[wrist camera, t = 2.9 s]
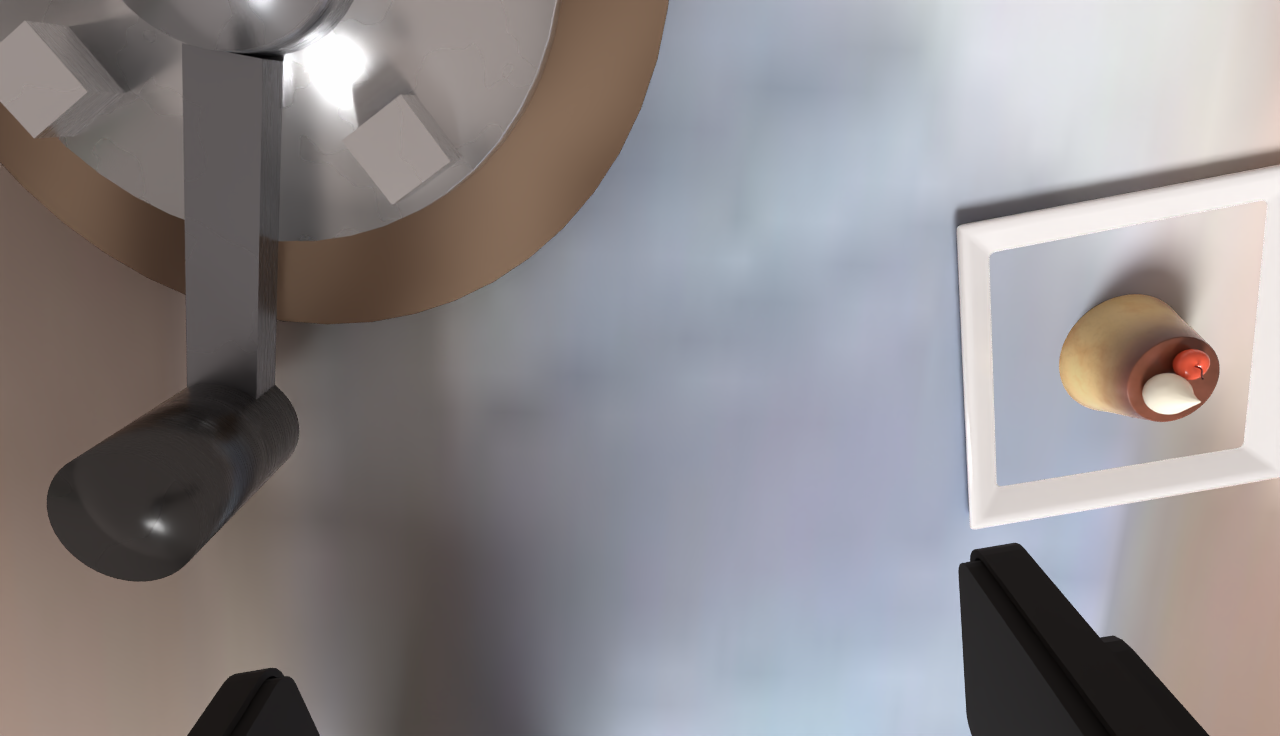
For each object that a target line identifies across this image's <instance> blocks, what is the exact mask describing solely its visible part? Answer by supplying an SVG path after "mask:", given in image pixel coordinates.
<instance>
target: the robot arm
mask: <svg viewBox="0 0 1280 736" xmlns="http://www.w3.org/2000/svg"><path fill="white" fill-rule="evenodd" d="M959 589H960V607H961V624H962V642H963V660H964V678H965V696H966V713H967V720H968V724H969V728H970V731H971V734H972V736H1209V735H1208V734H1207V732H1206V731H1205V730H1204V729H1203V728H1202V727H1201V726H1200V725H1199V723H1198V722H1197V721H1196V720H1195V719H1194V718H1193V717H1192V716H1191V714H1190V713H1189V712H1188V711H1187V710H1186V709H1185V708H1184V707H1183V705H1182V704H1181V703H1180V702H1179V701H1178V700H1177V699H1176V698H1175V696H1174V695H1173V694H1172V693H1171V692H1170V691H1169V690H1168V689H1167V687H1166V686H1165V685H1164V684H1163V683H1162V682H1161V681H1160V680H1159V678H1158V677H1157V676H1156V675H1155V674H1154V673H1153V672H1152V671H1151V669H1150V668H1149V667H1148V666H1147V665H1146V664H1145V663H1144V661H1143V660H1142V659H1141V658H1140V657H1139V656H1138V655H1137V654H1136V652H1135V651H1134V650H1133V649H1132V648H1131V647H1130V646H1129V645H1127V644H1126V643H1125V642H1124V641H1123V640H1122V639H1120V638H1117V637H1115V636H1108V637H1101V638H1100V637H1099V636H1098V635H1097V634H1096V633H1095V631H1094V630H1093V629H1092V628H1091V627H1090V626H1089V624H1088V623H1087V622H1086V621H1085V620H1084V618H1083V617H1082V616H1081V615H1080V614H1079V613H1078V611H1077V610H1076V609H1075V608H1074V607H1073V605H1072V604H1071V603H1070V602H1069V601H1068V600H1067V598H1066V597H1065V596H1064V595H1063V594H1062V593H1061V591H1060V590H1059V589H1058V588H1057V587H1056V585H1055V584H1054V583H1053V582H1052V581H1051V580H1050V578H1049V577H1048V576H1047V575H1046V574H1045V572H1044V571H1043V570H1042V569H1041V568H1040V567H1039V565H1038V564H1037V563H1036V562H1035V561H1034V559H1033V558H1032V557H1031V556H1030V555H1029V554H1028V552H1027V551H1026V550H1025V549H1024V548H1023V547H1022V546H1021V545H1020V544H1018V543H1011V544H1005V545H999V546H993V547H987V548H981V549H975V550H973V551H972V553H971V556H970V562H966V563H961V564H960V565H959ZM187 736H320V735H319V733H318V731H317V728H316V726H315V724H314V722H313V720H312V718H311V715H310V713H309V711H308V709H307V707H306V705H305V703H304V700H303V698H302V696H301V694H300V692H299V690H298V687H297V685H296V683H295V682H294V680H293V679H292V678H290V677H287V676H285V677H284V675H283V674H282V672H281V671H279V670H278V669H277V668H268V669H262V670H256V671H250V672H244V673H238V674H234V675H232V676H230V677H229V678H228V679H227V680H226V681H225V682H224V683H223V685H222V686H221V688H220V689H219V691H218V692H217V693H216V695H215V696H214V698H213V699H212V701H211V702H210V704H209V705H208V706H207V708H206V709H205V711H204V712H203V714H202V715H201V717H200V718H199V719H198V721H197V722H196V724H195V725H194V727H193V728H192V730H191V731H190V732H189V734H188V735H187Z"/></svg>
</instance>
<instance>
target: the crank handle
mask: <svg viewBox="0 0 1280 736" xmlns="http://www.w3.org/2000/svg"><path fill="white" fill-rule="evenodd" d="M561 2H562V0H0V102H1V103H2V104H3V105H4V106H5V107H6V108H7V109H8V111H9V112H10V113H11V114H12V115H13V116H14V117H15V118H16V119H17V120H18V121H19V122H20V124H21V125H22V126H23V127H24V128H25V129H26V130H27V131H28V132H29V133H30V134H31V136H32V137H33V138H51V137H57V138H58V139H59V140H60V141H61V142H62V143H63V144H64V145H65V146H66V147H67V148H68V149H70V150H71V151H72V152H73V153H75V154H76V155H77V156H78V157H79V158H81V159H82V160H83V161H84V162H86V163H87V164H88V165H89V166H91V167H92V168H93V169H94V170H96V171H97V172H98V173H99V174H101V175H102V176H104V177H105V178H107V179H108V180H110V181H112V182H113V183H115V184H116V185H118V186H119V187H121V188H122V189H124V190H125V191H127V192H128V193H130V194H132V195H133V196H135V197H137V198H139V199H141V200H143V201H145V202H147V203H149V204H151V205H153V206H155V207H157V208H158V209H160V210H162V211H164V212H166V213H168V214H170V215H173V216H176V217H178V218H181V219H184V220H185V278H186V343H187V388H185V389H184V390H182V391H181V392H179V393H177V394H176V395H174V396H173V397H171V398H170V399H168V400H166V401H165V402H163V403H162V404H160V405H159V406H157V407H156V408H154V409H152V410H151V411H149V412H148V413H146V414H145V415H143V416H141V417H140V418H138V419H137V420H135V421H134V422H132V423H130V424H129V425H127V426H126V427H124V428H123V429H121V430H119V431H118V432H116V433H115V434H113V435H112V436H110V437H108V438H107V439H105V440H104V441H102V442H101V443H99V444H97V445H96V446H94V447H93V448H91V449H90V450H88V451H86V452H85V453H83V454H82V455H80V456H79V457H77V458H75V459H74V460H72V461H71V462H69V463H68V464H66V465H65V466H64V467H63V468H61V469H60V470H59V472H58V473H57V474H56V475H55V477H54V478H53V480H52V482H51V484H50V487H49V490H48V495H47V511H48V517H49V520H50V523H51V525H52V528H53V530H54V532H55V534H56V535H57V537H58V538H59V540H60V541H61V543H62V544H63V545H64V546H65V548H66V549H67V550H68V551H69V552H70V553H71V554H72V555H73V556H75V557H76V558H77V559H78V560H79V561H81V562H82V563H84V564H85V565H87V566H88V567H90V568H92V569H94V570H96V571H97V572H100V573H102V574H105V575H107V576H110V577H113V578H117V579H122V580H127V581H152V580H157V579H161V578H164V577H167V576H169V575H172V574H173V573H175V572H177V571H178V570H180V569H181V568H182V567H184V566H185V565H186V564H187V563H188V562H189V561H190V560H191V559H192V557H193V556H194V555H195V554H196V553H197V552H198V551H199V550H200V549H201V548H202V547H203V546H204V545H205V544H206V543H207V542H208V541H209V540H210V539H211V538H212V537H213V536H214V535H215V534H216V533H217V532H218V531H219V530H220V529H221V528H222V526H223V525H224V524H225V523H226V522H227V521H228V520H229V519H230V518H231V517H232V516H233V515H234V514H235V513H236V512H237V511H238V510H239V509H240V508H241V507H242V506H243V505H244V504H245V503H246V502H247V501H248V500H249V499H250V498H251V497H252V495H253V494H254V493H255V492H256V491H257V490H258V489H259V488H260V487H261V486H262V485H263V484H264V483H265V482H266V481H267V480H268V479H269V478H270V477H271V476H272V475H273V474H274V473H275V472H276V471H277V470H278V469H279V468H280V467H281V466H282V465H283V463H284V462H285V461H286V460H287V459H288V458H289V457H290V456H291V454H292V453H293V451H294V450H295V447H296V445H297V442H298V437H299V424H298V418H297V415H296V412H295V410H294V408H293V406H292V404H291V402H290V401H289V399H288V398H287V397H286V396H285V394H284V393H283V392H282V391H281V390H280V389H279V388H278V387H277V386H275V355H276V318H277V280H278V243H279V241H318V240H325V239H332V238H339V237H346V236H352V235H355V234H359V233H362V232H366V231H369V230H373V229H376V228H379V227H383V226H386V225H388V224H390V223H392V222H395V221H397V220H399V219H401V218H404V217H406V216H408V215H410V214H412V213H415V212H417V211H419V210H421V209H423V208H425V207H427V206H429V205H431V204H432V203H434V202H435V201H437V200H438V199H440V198H442V197H443V196H445V195H446V194H448V193H450V192H451V191H453V190H454V189H456V188H457V187H459V186H460V185H461V184H462V183H463V182H464V181H466V180H467V179H468V178H469V177H470V176H471V175H473V174H474V173H475V172H476V171H477V170H479V169H480V168H481V167H482V166H483V165H484V164H485V163H486V162H487V161H488V159H489V158H490V157H491V156H492V155H493V154H494V153H495V152H496V150H497V149H498V148H499V147H500V146H501V145H502V144H503V142H504V141H505V140H506V139H507V137H508V136H509V134H510V133H511V131H512V130H513V128H514V127H515V125H516V124H517V122H518V121H519V119H520V118H521V116H522V115H523V113H524V112H525V110H526V108H527V106H528V104H529V102H530V100H531V98H532V96H533V94H534V92H535V90H536V88H537V86H538V83H539V81H540V79H541V77H542V74H543V71H544V68H545V65H546V62H547V59H548V56H549V53H550V50H551V47H552V45H553V42H554V37H555V32H556V27H557V22H558V17H559V12H560V7H561Z"/></svg>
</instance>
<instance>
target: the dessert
mask: <svg viewBox="0 0 1280 736" xmlns="http://www.w3.org/2000/svg"><path fill="white" fill-rule="evenodd" d="M1257 201H1266V203H1267V212H1266V223H1265V233H1264V243H1263V253H1262V263H1261V273H1260V284H1259V294H1258V304H1257V314H1256V324H1255V334H1254V345H1253V355H1252V365H1251V375H1250V385H1249V395H1248V406H1247V416H1246V426H1245V436H1244V443H1243V445H1242V446H1241V447H1239V448H1235V449H1229V450H1223V451H1217V452H1210V453H1204V454H1198V455H1192V456H1186V457H1180V458H1174V459H1167V460H1161V461H1155V462H1149V463H1143V464H1137V465H1130V466H1124V467H1118V468H1112V469H1106V470H1100V471H1094V472H1087V473H1081V474H1075V475H1069V476H1063V477H1057V478H1051V479H1044V480H1038V481H1032V482H1026V483H1020V484H1014V485H1008V486H998V485H997V482H996V452H995V421H994V391H993V361H992V330H991V300H990V269H989V258H990V255H991V254H992V253H994V252H997V251H1002V250H1008V249H1013V248H1018V247H1023V246H1028V245H1034V244H1039V243H1044V242H1049V241H1054V240H1060V239H1065V238H1070V237H1075V236H1080V235H1085V234H1091V233H1096V232H1101V231H1106V230H1111V229H1117V228H1122V227H1127V226H1132V225H1137V224H1143V223H1148V222H1153V221H1158V220H1163V219H1169V218H1174V217H1179V216H1184V215H1189V214H1195V213H1200V212H1205V211H1210V210H1215V209H1220V208H1226V207H1231V206H1236V205H1241V204H1246V203H1252V202H1257ZM957 252H958V274H959V296H960V318H961V340H962V362H963V385H964V407H965V429H966V451H967V473H968V495H969V518H970V528H971V529H980V528H986V527H992V526H998V525H1004V524H1010V523H1016V522H1022V521H1028V520H1033V519H1039V518H1045V517H1051V516H1057V515H1063V514H1069V513H1075V512H1081V511H1087V510H1092V509H1098V508H1104V507H1110V506H1116V505H1122V504H1128V503H1134V502H1140V501H1146V500H1152V499H1157V498H1163V497H1169V496H1175V495H1181V494H1187V493H1193V492H1199V491H1205V490H1211V489H1216V488H1222V487H1228V486H1234V485H1240V484H1246V483H1252V482H1258V481H1264V480H1270V479H1276V478H1280V164H1279V165H1274V166H1269V167H1263V168H1258V169H1253V170H1247V171H1242V172H1237V173H1232V174H1226V175H1221V176H1216V177H1210V178H1205V179H1200V180H1194V181H1189V182H1184V183H1179V184H1173V185H1168V186H1163V187H1157V188H1152V189H1147V190H1141V191H1136V192H1131V193H1126V194H1120V195H1115V196H1110V197H1104V198H1099V199H1094V200H1088V201H1083V202H1078V203H1073V204H1067V205H1062V206H1057V207H1051V208H1046V209H1041V210H1035V211H1030V212H1025V213H1020V214H1014V215H1009V216H1004V217H998V218H993V219H988V220H983V221H977V222H972V223H967V224H961V225H960V226H958V228H957ZM1059 370H1060V377H1061V380H1062V383H1063V385H1064V387H1065V389H1066V391H1067V392H1068V394H1069V395H1070V396H1071V397H1072V398H1073V399H1074V400H1075V401H1077V402H1078V403H1079V404H1081V405H1083V406H1085V407H1087V408H1090V409H1093V410H1098V411H1105V412H1111V413H1116V414H1121V415H1125V416H1130V417H1135V418H1140V419H1145V420H1151V421H1157V422H1167V421H1173V420H1177V419H1180V418H1183V417H1185V416H1187V415H1189V414H1191V413H1193V412H1194V411H1195V410H1197V409H1198V408H1199V407H1201V406H1202V405H1203V404H1204V403H1205V402H1206V401H1207V399H1208V398H1209V397H1210V395H1211V394H1212V392H1213V391H1214V389H1215V387H1216V384H1217V381H1218V378H1219V361H1218V357H1217V355H1216V353H1215V351H1214V350H1213V349H1212V347H1211V346H1210V345H1209V344H1208V343H1207V342H1206V341H1205V340H1204V339H1203V338H1202V337H1201V336H1200V335H1199V334H1198V333H1197V332H1196V331H1195V330H1194V329H1192V328H1191V327H1190V326H1189V325H1188V324H1187V323H1186V322H1185V321H1184V320H1183V319H1182V318H1181V317H1180V316H1179V315H1178V314H1177V313H1176V312H1175V311H1174V310H1173V309H1172V308H1171V307H1170V306H1169V305H1168V304H1167V303H1165V302H1164V301H1162V300H1160V299H1158V298H1155V297H1152V296H1148V295H1141V294H1130V295H1123V296H1118V297H1115V298H1112V299H1109V300H1107V301H1104V302H1102V303H1101V304H1099V305H1097V306H1095V307H1094V308H1092V309H1091V310H1090V311H1088V312H1087V313H1086V314H1085V315H1084V316H1082V317H1081V318H1080V319H1079V321H1078V322H1077V323H1076V324H1075V325H1074V326H1073V328H1072V329H1071V331H1070V332H1069V334H1068V336H1067V338H1066V340H1065V342H1064V344H1063V347H1062V350H1061V354H1060V361H1059Z"/></svg>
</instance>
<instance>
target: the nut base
mask: <svg viewBox="0 0 1280 736" xmlns="http://www.w3.org/2000/svg"><path fill="white" fill-rule="evenodd" d="M668 2H669V0H562V2H561V7H560V12H559V17H558V22H557V27H556V32H555V37H554V42H553V45H552V47H551V50H550V53H549V56H548V59H547V62H546V65H545V68H544V71H543V74H542V77H541V79H540V81H539V83H538V86H537V88H536V90H535V92H534V94H533V96H532V98H531V100H530V102H529V104H528V106H527V108H526V110H525V112H524V113H523V115H522V116H521V118H520V119H519V121H518V122H517V124H516V125H515V127H514V128H513V130H512V131H511V133H510V134H509V136H508V137H507V139H506V140H505V141H504V142H503V144H502V145H501V146H500V147H499V148H498V149H497V150H496V152H495V153H494V154H493V155H492V156H491V157H490V158H489V159H488V161H487V162H486V163H485V164H484V165H483V166H482V167H481V168H480V169H479V170H477V171H476V172H475V173H474V174H473V175H471V176H470V177H469V178H468V179H467V180H466V181H464V182H463V183H462V184H461V185H460V186H459V187H457V188H456V189H454V190H453V191H451V192H450V193H448V194H446V195H445V196H443V197H442V198H440V199H438V200H437V201H435V202H434V203H432V204H431V205H429V206H427V207H425V208H423V209H421V210H419V211H417V212H415V213H412V214H410V215H408V216H406V217H404V218H401V219H399V220H397V221H395V222H392V223H390V224H388V225H386V226H383V227H379V228H376V229H373V230H369V231H366V232H362V233H359V234H355V235H352V236H346V237H339V238H332V239H325V240H318V241H279V243H278V280H277V318H276V320H280V321H290V322H304V323H318V324H340V323H359V322H373V321H379V320H384V319H389V318H395V317H400V316H406V315H411V314H415V313H418V312H421V311H425V310H428V309H431V308H434V307H437V306H440V305H443V304H446V303H449V302H452V301H455V300H457V299H459V298H461V297H463V296H465V295H467V294H469V293H472V292H474V291H476V290H478V289H480V288H482V287H484V286H486V285H488V284H490V283H492V282H494V281H496V280H497V279H499V278H500V277H502V276H503V275H505V274H506V273H508V272H509V271H511V270H512V269H514V268H515V267H517V266H518V265H520V264H521V263H523V262H524V261H526V260H527V259H529V258H530V257H531V256H532V255H533V254H535V253H536V252H537V251H538V250H539V249H540V248H541V247H542V246H544V245H545V244H546V243H547V242H548V241H549V240H550V239H551V238H553V237H554V236H555V235H556V234H557V233H558V232H559V231H561V230H562V229H563V228H564V227H565V226H566V224H567V223H568V222H569V221H570V220H571V219H572V217H573V216H574V215H575V214H576V213H577V212H578V210H579V209H580V208H581V207H582V206H583V205H584V203H585V202H586V201H587V200H588V199H589V198H590V196H591V195H592V194H593V193H594V191H595V190H596V188H597V187H598V185H599V184H600V182H601V181H602V179H603V178H604V176H605V175H606V173H607V171H608V170H609V168H610V167H611V165H612V164H613V162H614V161H615V159H616V158H617V156H618V155H619V153H620V151H621V149H622V147H623V145H624V143H625V141H626V138H627V136H628V134H629V132H630V130H631V128H632V126H633V124H634V122H635V120H636V118H637V116H638V114H639V111H640V109H641V107H642V104H643V101H644V98H645V95H646V92H647V89H648V86H649V83H650V80H651V77H652V74H653V71H654V68H655V65H656V62H657V59H658V54H659V49H660V44H661V39H662V34H663V29H664V24H665V19H666V14H667V9H668ZM0 162H1V163H2V164H3V165H4V166H5V168H6V169H7V170H8V171H9V172H10V173H11V174H12V175H13V176H14V177H15V178H16V180H17V181H18V182H19V183H20V184H21V185H22V186H23V187H24V188H25V189H26V190H27V191H28V192H30V193H31V194H32V195H33V196H34V197H35V198H36V199H37V200H38V201H40V202H41V203H42V204H43V205H44V206H45V207H46V208H47V209H49V210H50V211H51V212H52V213H53V214H54V215H55V216H56V217H57V218H59V219H60V220H61V221H62V222H63V223H64V224H66V225H67V226H69V227H70V228H71V229H73V230H74V231H75V232H77V233H78V234H80V235H81V236H82V237H84V238H85V239H86V240H88V241H89V242H91V243H92V244H93V245H95V246H96V247H97V248H99V249H100V250H102V251H103V252H104V253H106V254H108V255H109V256H111V257H113V258H114V259H116V260H118V261H120V262H121V263H123V264H125V265H127V266H128V267H130V268H132V269H133V270H135V271H137V272H139V273H140V274H142V275H144V276H146V277H147V278H149V279H151V280H154V281H156V282H158V283H160V284H163V285H165V286H167V287H169V288H172V289H174V290H176V291H178V292H181V293H183V294H185V295H186V278H185V220H184V219H181V218H178V217H176V216H173V215H170V214H168V213H166V212H164V211H162V210H160V209H158V208H157V207H155V206H153V205H151V204H149V203H147V202H145V201H143V200H141V199H139V198H137V197H135V196H133V195H132V194H130V193H128V192H127V191H125V190H124V189H122V188H121V187H119V186H118V185H116V184H115V183H113V182H112V181H110V180H108V179H107V178H105V177H104V176H102V175H101V174H99V173H98V172H97V171H96V170H94V169H93V168H92V167H91V166H89V165H88V164H87V163H86V162H84V161H83V160H82V159H81V158H79V157H78V156H77V155H76V154H75V153H73V152H72V151H71V150H70V149H68V148H67V147H66V146H65V145H64V144H63V143H62V142H61V141H60V140H59V139H58V138H57V137H51V138H33V137H32V136H31V134H30V133H29V132H28V131H27V130H26V129H25V128H24V127H23V126H22V125H21V124H20V122H19V121H18V120H17V119H16V118H15V117H14V116H13V115H12V114H11V113H10V112H9V111H8V109H7V108H6V107H5V106H4V105H3V104H2V103H1V102H0Z"/></svg>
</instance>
